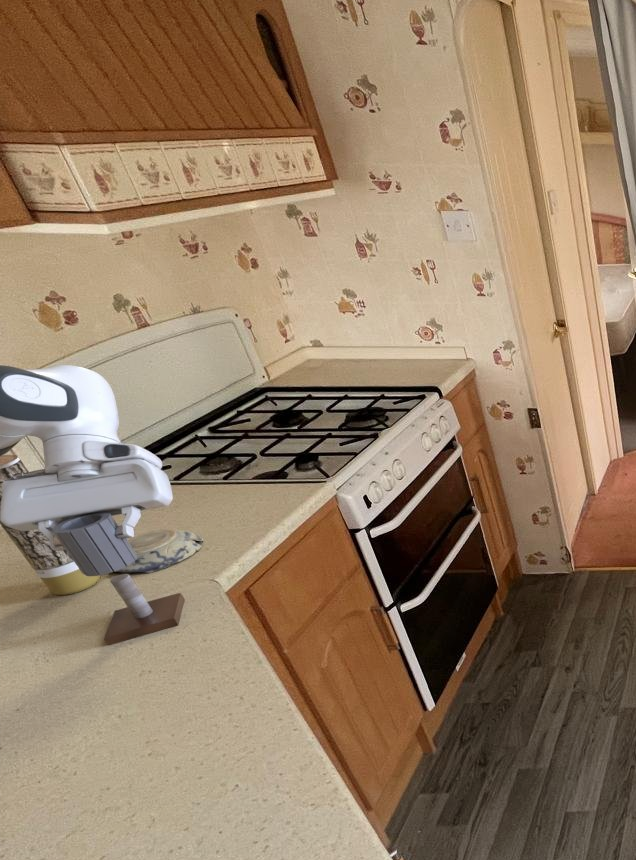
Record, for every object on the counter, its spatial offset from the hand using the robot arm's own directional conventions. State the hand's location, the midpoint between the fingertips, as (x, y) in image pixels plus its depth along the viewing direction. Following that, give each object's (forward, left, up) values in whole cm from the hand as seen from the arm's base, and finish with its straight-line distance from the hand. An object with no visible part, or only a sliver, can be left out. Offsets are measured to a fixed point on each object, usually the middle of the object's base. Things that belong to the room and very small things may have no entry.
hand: (93, 543), depth 106 cm
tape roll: (0, +1, -4) cm, 4 cm away
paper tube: (-13, +23, -16) cm, 31 cm away
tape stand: (0, +1, -16) cm, 16 cm away
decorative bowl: (-2, +28, -16) cm, 32 cm away
